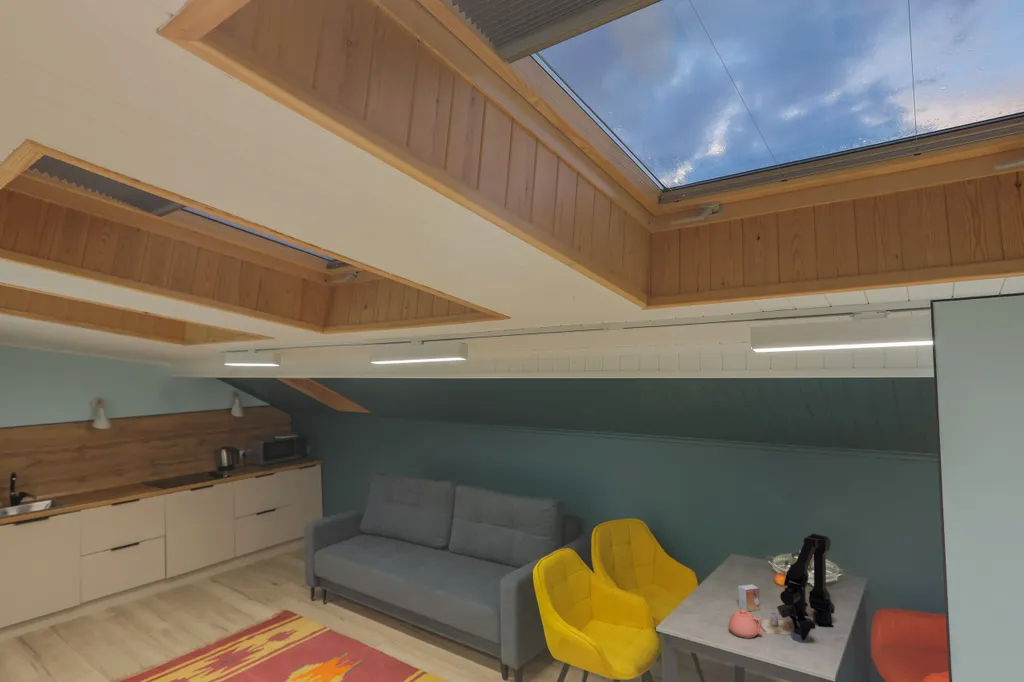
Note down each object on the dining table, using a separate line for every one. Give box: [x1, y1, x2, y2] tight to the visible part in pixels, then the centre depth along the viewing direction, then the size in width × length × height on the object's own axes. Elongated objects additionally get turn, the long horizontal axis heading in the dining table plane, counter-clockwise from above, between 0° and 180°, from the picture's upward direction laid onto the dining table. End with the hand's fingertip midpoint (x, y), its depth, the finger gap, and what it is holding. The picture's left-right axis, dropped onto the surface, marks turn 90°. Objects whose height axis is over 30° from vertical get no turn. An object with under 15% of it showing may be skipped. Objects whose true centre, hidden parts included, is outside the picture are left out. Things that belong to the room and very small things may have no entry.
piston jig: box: [756, 612, 793, 635], centre depth 248 cm, size 12×12×6 cm
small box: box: [737, 583, 761, 612], centre depth 269 cm, size 8×6×10 cm
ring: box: [790, 627, 810, 644], centre depth 237 cm, size 6×6×3 cm
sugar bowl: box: [728, 608, 764, 640], centre depth 242 cm, size 12×14×10 cm
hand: (800, 636), depth 237 cm, fingers closed on ring, 6 cm apart
